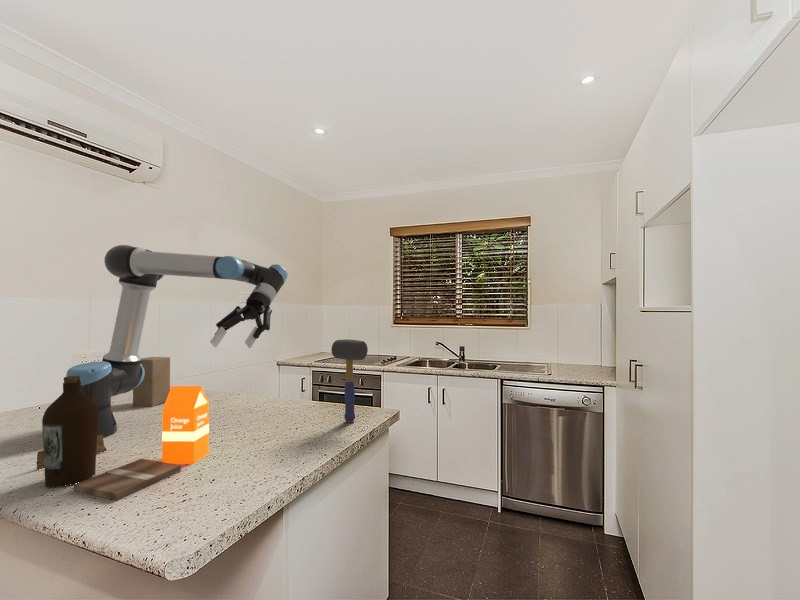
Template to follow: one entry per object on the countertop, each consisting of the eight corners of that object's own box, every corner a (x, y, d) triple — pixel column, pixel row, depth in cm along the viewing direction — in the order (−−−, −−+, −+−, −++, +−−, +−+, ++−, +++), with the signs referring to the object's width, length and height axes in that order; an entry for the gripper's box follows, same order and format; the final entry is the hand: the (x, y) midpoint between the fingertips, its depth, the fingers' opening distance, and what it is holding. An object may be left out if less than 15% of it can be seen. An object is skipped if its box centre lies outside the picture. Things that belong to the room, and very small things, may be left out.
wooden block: (152, 407, 164) (152, 360, 164) (132, 406, 166) (132, 359, 166) (170, 401, 174) (170, 357, 174) (151, 400, 176) (151, 356, 176)
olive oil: (81, 467, 101) (82, 372, 102) (108, 473, 97) (109, 374, 98) (31, 484, 91) (32, 379, 92) (58, 492, 87) (59, 381, 88)
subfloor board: (73, 491, 88) (73, 484, 88) (141, 464, 103) (141, 458, 103) (116, 500, 83) (116, 493, 83) (180, 471, 98) (180, 464, 98)
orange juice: (179, 452, 111) (179, 383, 111) (209, 453, 111) (209, 383, 111) (161, 463, 103) (161, 389, 104) (193, 464, 103) (194, 389, 103)
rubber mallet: (329, 421, 140) (329, 339, 141) (342, 416, 147) (342, 338, 147) (357, 427, 134) (356, 340, 135) (369, 421, 140) (369, 339, 141)
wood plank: (39, 472, 99) (39, 452, 99) (35, 470, 100) (35, 451, 100) (106, 451, 112) (106, 434, 113) (102, 450, 113) (102, 433, 113)
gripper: (295, 305, 135) (268, 353, 120) (238, 306, 143) (206, 351, 128) (286, 289, 130) (256, 337, 116) (227, 291, 138) (192, 336, 124)
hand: (230, 345), depth 122 cm, fingers open, 13 cm apart
